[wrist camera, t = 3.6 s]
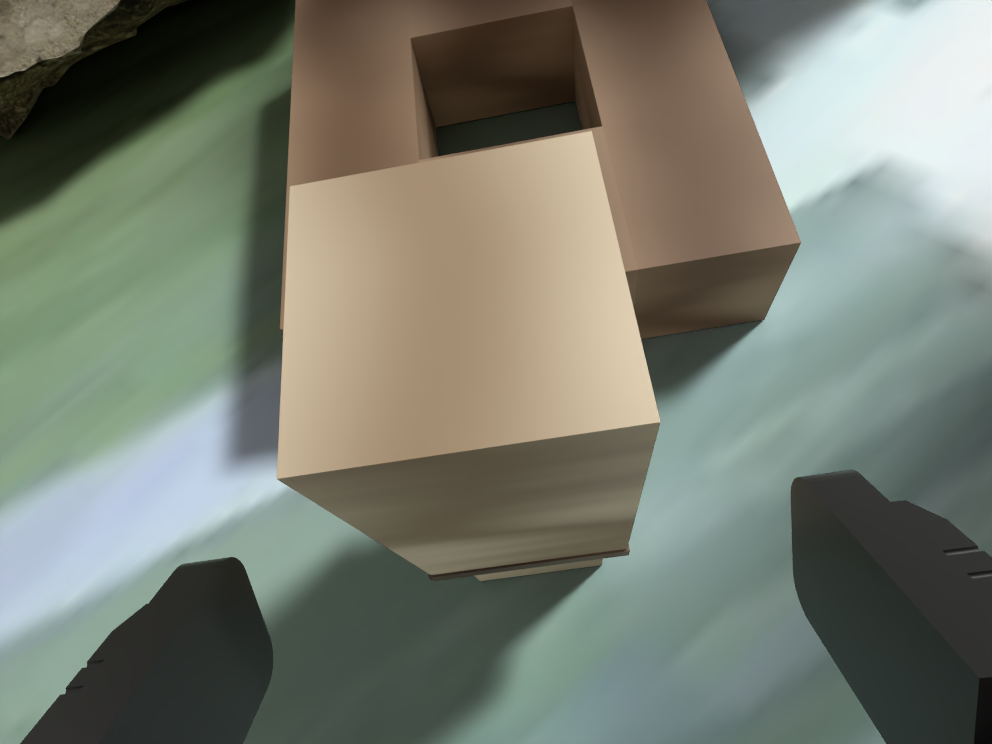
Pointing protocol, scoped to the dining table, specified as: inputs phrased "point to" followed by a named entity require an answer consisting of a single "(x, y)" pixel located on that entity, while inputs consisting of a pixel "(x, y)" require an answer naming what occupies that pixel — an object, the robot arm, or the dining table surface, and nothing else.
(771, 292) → the seat board
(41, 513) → the dining table surface
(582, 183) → the beech leg
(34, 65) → the hollow geode rock
